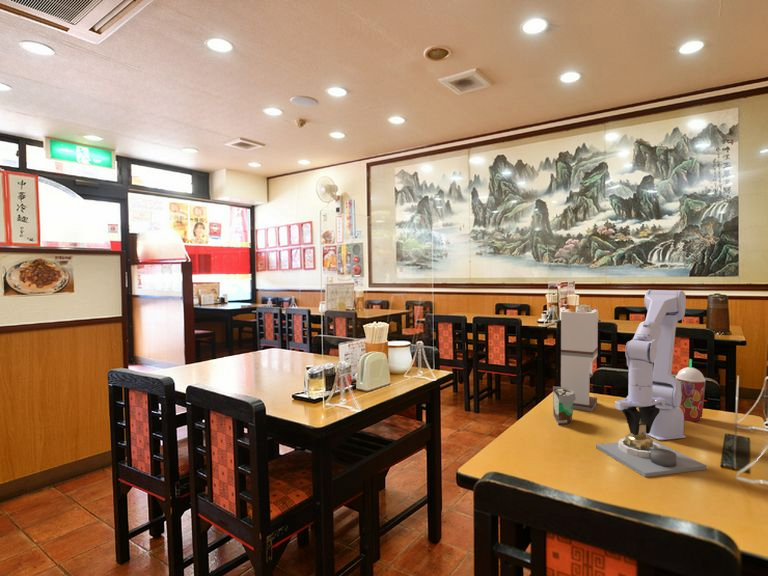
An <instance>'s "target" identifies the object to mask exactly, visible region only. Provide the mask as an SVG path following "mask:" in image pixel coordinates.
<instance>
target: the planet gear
mask: <svg viewBox="0 0 768 576" xmlns="http://www.w3.org/2000/svg"><path fill="white" fill-rule="evenodd" d="M646 425H647V424H646V423H644V422H641V420H640V422H639V433H638V435H634V434H632V433H630V432H628V434H625V437H624V438H625V442H627V445H629V446H633V447H636V448H638V449H650V447H653V440H654V439H652V437H651V436H649V435H647V434H646Z"/></svg>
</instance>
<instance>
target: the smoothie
mask: <svg viewBox="0 0 768 576" xmlns="http://www.w3.org/2000/svg"><path fill="white" fill-rule="evenodd" d="M692 363H693V359H691V358H689V363H688V364H689V365H688V366H687V367H683V368H682V369H680V370H679V371H678V372H677V374H676V375H675V378H676V379H677V380H678V381H679V382H680V384H681V393H682V398H681V404H680V406H679V408H680V409H681V410H682V412H683V415H684V421H689V422H699V421H700V420H701V418H702V417H703V410H704V401H705V400H704V399H705V390H706V380H707V379H706V378H705V376H704V374H703V373H702V372H701V371H700V370H699V369H697V368H695V367H692V366H693V364H692Z"/></svg>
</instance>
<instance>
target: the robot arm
mask: <svg viewBox="0 0 768 576" xmlns="http://www.w3.org/2000/svg"><path fill="white" fill-rule="evenodd" d="M643 301H644V306H645V308H646V310H647V313H646V317H645V320H644V321H642V322H640V323H639V324H638V326H637V328H636V331H635V333H634V336H633V337H632V339H631V340H629V341H627V342H626V343H625V344H626V345H625V348H624V349H625V351H624V352H625V358H626V367H628V381H627V382H628V387H627V388H628V394H627V396H626V398H624V399H623V398H622V399H621V400H615V401H614V409H616V410H619V411H621V412H622V414H623V415H624V417H625V419H626V422H627V426H628V430H629V433H632V434H634V435H638V433H639V422H640V421H641V422H644V423H646V424H647V425H646V436H649V437H651V438H653V439H655V440H657V441H666V440H676V439H685V438H687V436H686V434H685V435H684V429H685V427H684V426H685V425H684V424H685V422H684V421H685V420H684V415H683V412H682V410H681V409H680V408H679V406H680V404H681V398H682V393H681V384H680V382H679V381H678V380H677V379H676V378H675V377H674V375H672V371H673V370H672V368H673V361H674V351H675V350H674V349H675V348H674V347H675V339H676V331H677V325H678V321H681V320H683V319H685V314H686V305H687V298H686V293H685V292H684V290H663V289H661V290H660V289H659V290H658V289H657V290H656V289H648V290H647V291H646V292H645V294H644V299H643Z"/></svg>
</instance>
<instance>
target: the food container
mask: <svg viewBox="0 0 768 576" xmlns="http://www.w3.org/2000/svg"><path fill="white" fill-rule="evenodd" d="M574 400H576V397H575V394H574V392H573V391H572V390H570V389H567V388H563V387H561V386H552V406H553V407H552V408H553V414H552V415H553V418H554V419H555V421H556V424H557V425H558V426H568V425H570V424H572V423H573V422H572V421H573V412H574V410H573V401H574Z"/></svg>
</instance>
